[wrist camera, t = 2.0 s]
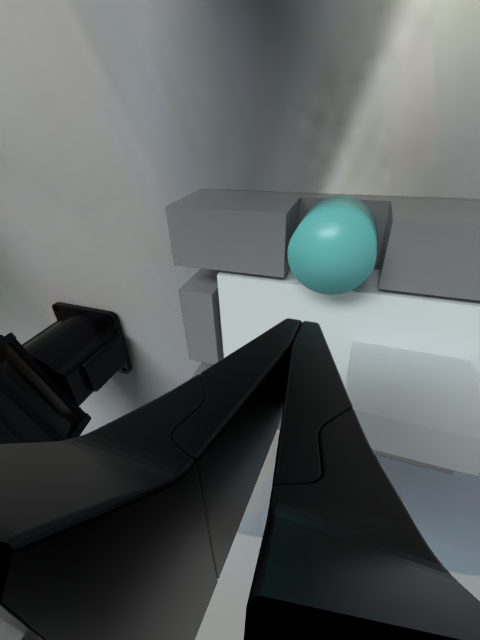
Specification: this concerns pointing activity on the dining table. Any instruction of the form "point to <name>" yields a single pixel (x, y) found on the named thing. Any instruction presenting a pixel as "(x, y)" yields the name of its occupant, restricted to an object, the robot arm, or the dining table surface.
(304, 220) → the teal egg-shaped capsule
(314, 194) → the filter housing
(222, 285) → the white stepped block
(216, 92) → the dining table surface
